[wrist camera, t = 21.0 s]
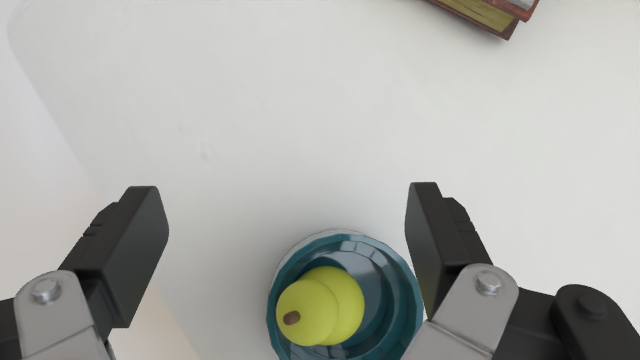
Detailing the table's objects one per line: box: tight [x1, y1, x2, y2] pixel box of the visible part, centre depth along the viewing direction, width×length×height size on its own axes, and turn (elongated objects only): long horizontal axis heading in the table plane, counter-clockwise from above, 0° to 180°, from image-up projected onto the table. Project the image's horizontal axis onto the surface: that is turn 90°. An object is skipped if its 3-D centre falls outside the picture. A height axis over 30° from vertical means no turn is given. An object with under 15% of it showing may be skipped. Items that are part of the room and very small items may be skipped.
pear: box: [276, 266, 365, 346], centre depth 27 cm, size 5×5×9 cm
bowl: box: [266, 230, 424, 360], centre depth 29 cm, size 11×11×5 cm
